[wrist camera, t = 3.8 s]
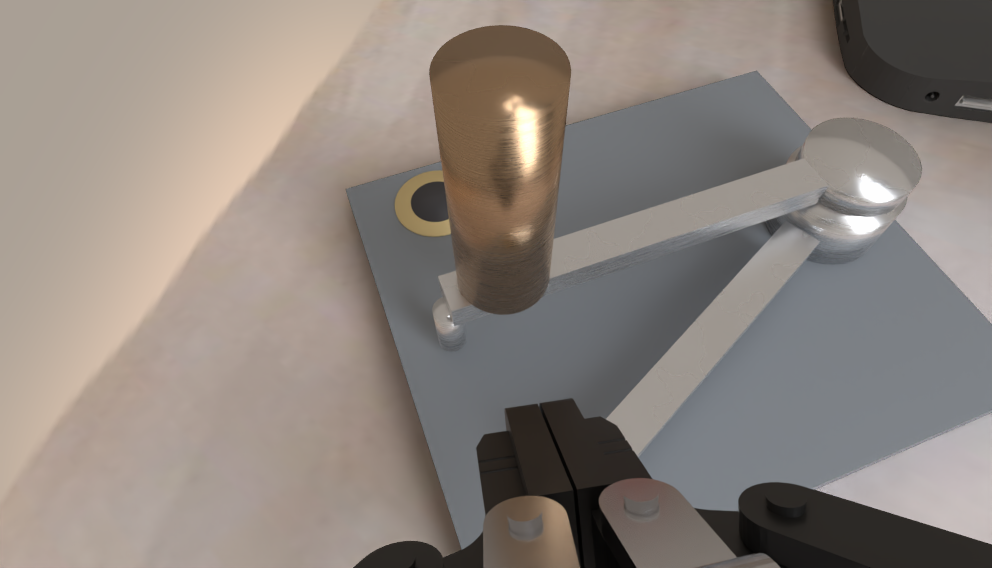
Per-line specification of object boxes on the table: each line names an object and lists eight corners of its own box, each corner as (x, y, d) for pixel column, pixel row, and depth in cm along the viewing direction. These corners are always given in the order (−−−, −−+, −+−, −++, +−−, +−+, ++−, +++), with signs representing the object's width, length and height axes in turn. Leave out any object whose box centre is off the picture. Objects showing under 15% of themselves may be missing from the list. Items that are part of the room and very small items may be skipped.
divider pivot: (803, 165, 27) (828, 122, 25) (894, 224, 25) (930, 183, 23) (481, 436, 21) (478, 409, 19) (572, 540, 19) (580, 524, 17)
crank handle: (834, 164, 26) (1018, -121, 17) (897, 234, 24) (1148, -45, 15) (423, 299, 23) (362, 42, 13) (457, 392, 21) (414, 167, 11)
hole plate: (746, 94, 32) (757, 68, 30) (1018, 400, 23) (1051, 383, 21) (352, 210, 28) (344, 186, 27) (488, 631, 19) (487, 628, 18)
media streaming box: (1072, -23, 37) (1114, -73, 35) (1158, 149, 30) (1219, 101, 27) (822, -46, 39) (844, -95, 36) (843, 111, 31) (873, 62, 29)
